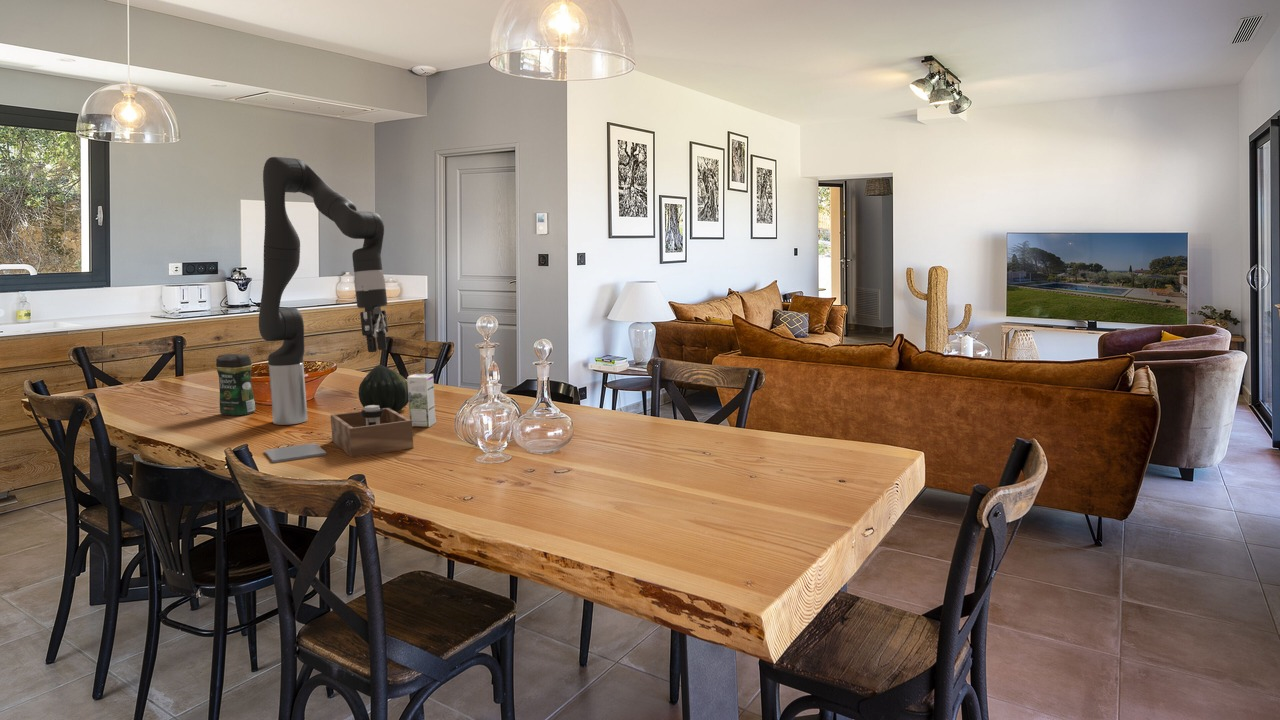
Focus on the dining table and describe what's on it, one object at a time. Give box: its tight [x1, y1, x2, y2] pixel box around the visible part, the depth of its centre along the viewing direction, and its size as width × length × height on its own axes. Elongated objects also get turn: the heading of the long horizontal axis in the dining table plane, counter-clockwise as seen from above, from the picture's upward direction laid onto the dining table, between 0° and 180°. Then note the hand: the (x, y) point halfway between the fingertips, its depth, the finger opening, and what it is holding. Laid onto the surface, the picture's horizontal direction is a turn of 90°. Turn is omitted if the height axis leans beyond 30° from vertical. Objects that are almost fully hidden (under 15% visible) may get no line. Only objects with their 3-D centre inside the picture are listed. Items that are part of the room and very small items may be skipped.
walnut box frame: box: [330, 408, 414, 458], centre depth 202 cm, size 20×15×7 cm
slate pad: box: [264, 442, 327, 464], centre depth 194 cm, size 12×12×1 cm
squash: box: [358, 364, 409, 413], centre depth 244 cm, size 14×15×15 cm
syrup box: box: [406, 373, 437, 428], centre depth 223 cm, size 6×6×14 cm
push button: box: [360, 405, 383, 426], centre depth 202 cm, size 7×5×10 cm
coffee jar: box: [215, 353, 256, 417], centre depth 242 cm, size 10×8×19 cm
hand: (377, 350), depth 206 cm, fingers open, 8 cm apart
